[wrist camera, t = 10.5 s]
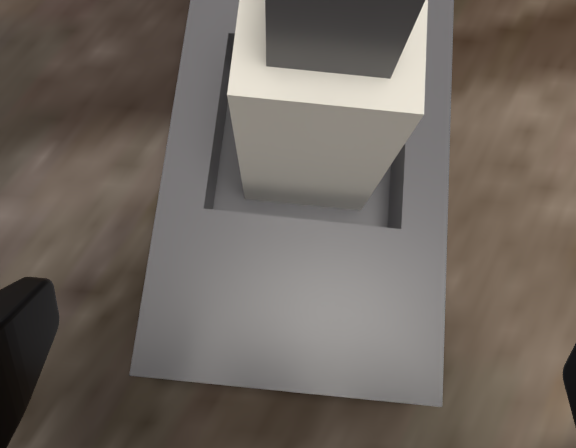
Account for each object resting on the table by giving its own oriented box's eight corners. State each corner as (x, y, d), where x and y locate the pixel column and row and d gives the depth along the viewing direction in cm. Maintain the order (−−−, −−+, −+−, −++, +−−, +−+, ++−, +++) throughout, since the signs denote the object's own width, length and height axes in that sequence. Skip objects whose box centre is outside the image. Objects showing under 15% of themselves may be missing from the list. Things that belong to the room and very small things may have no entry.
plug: (360, 210, 22) (477, 33, 10) (244, 199, 22) (211, 6, 10) (367, 104, 24) (479, -177, 11) (257, 93, 24) (242, -203, 11)
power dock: (415, 397, 22) (448, 409, 18) (151, 371, 22) (124, 376, 18) (431, -17, 26) (460, -82, 22) (214, -40, 26) (204, -110, 22)
